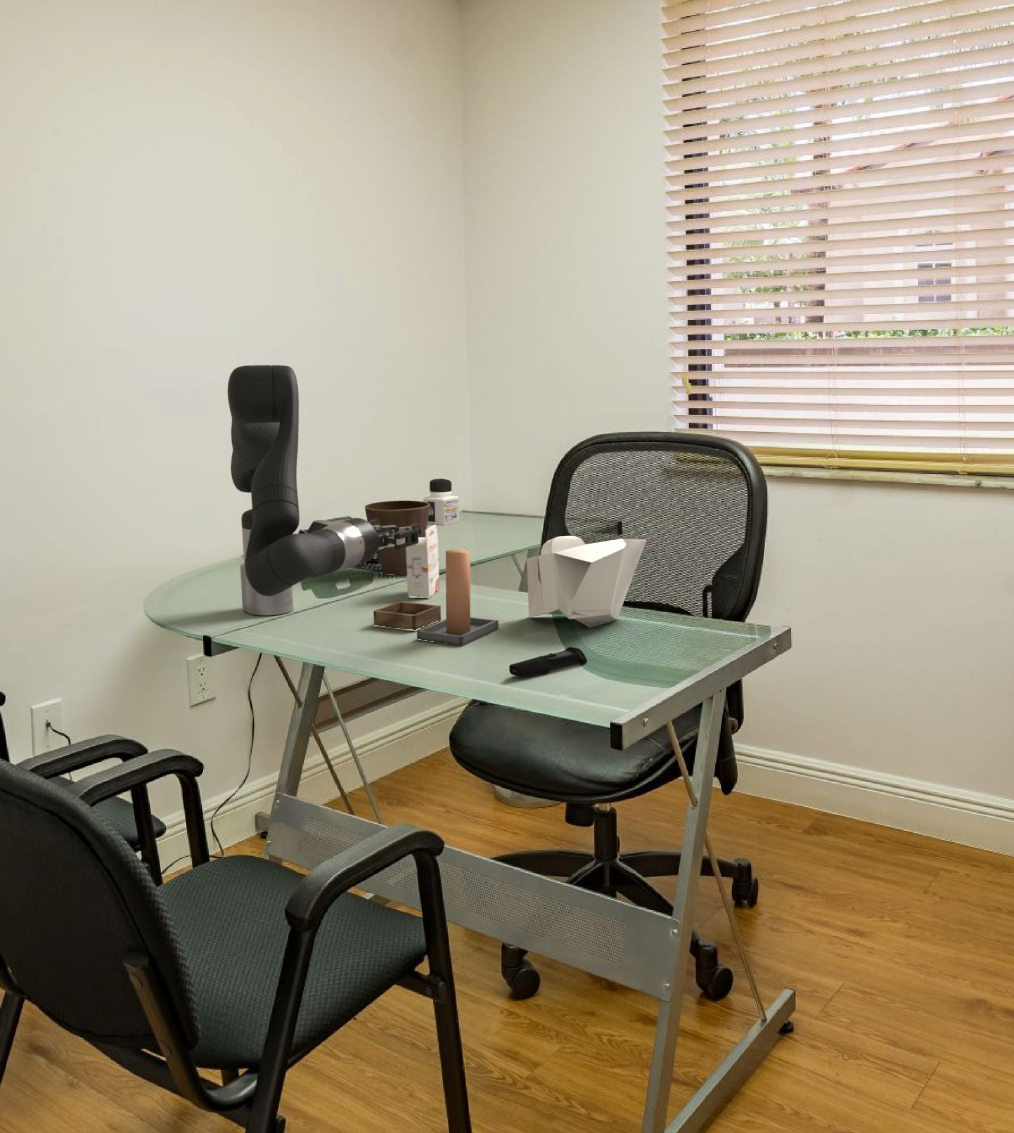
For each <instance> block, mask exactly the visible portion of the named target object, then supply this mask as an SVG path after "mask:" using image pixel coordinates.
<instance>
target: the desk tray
mask: <svg viewBox="0 0 1014 1133" xmlns="http://www.w3.org/2000/svg"><path fill="white" fill-rule="evenodd" d="M497 630H499V620H498V619H491V618H481V617H472V616H470V632H468V633H466V634H463V635H452V634H448V633H446V618H445V619H441V621H440V622H437V623H435V624H432V625H430V626H428V627H425V628H423V629H420V630H418V631H416V639H421V640H427V641H434V642H439V643H438V644H442V643H447V644H446V645H449V644H451V646H457V645H459V646H458V647H463V645H464V646H465V645H468V644H469V643H472V642H474V641H476V640H479V639H481V638H482V637H485V636H487V635H489V634H491V633H494V632H496V631H497ZM427 641H426V642H427ZM434 642H433V643H434ZM467 643H468V644H467Z"/></svg>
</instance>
